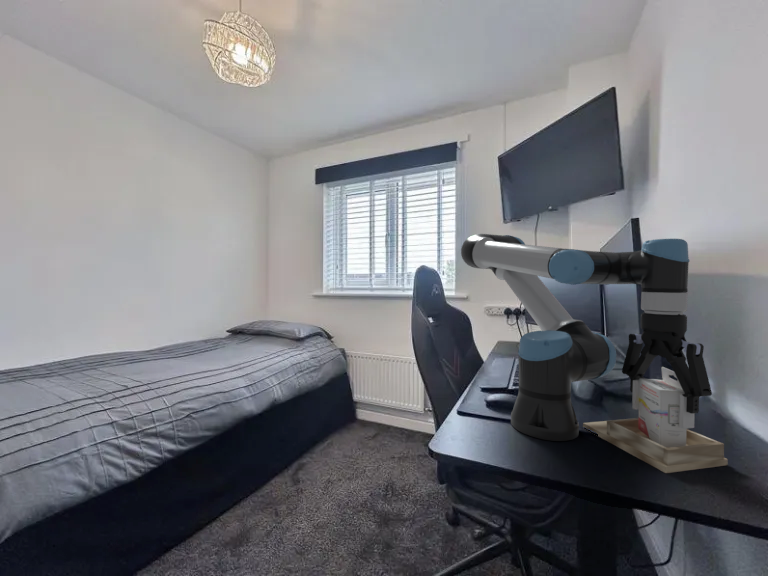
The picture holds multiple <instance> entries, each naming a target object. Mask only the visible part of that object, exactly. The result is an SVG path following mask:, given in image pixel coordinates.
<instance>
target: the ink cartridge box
mask: <svg viewBox="0 0 768 576" xmlns="http://www.w3.org/2000/svg"><path fill="white" fill-rule="evenodd" d="M660 370H661V376H662V377H661V378H662V379H654V378H642V379H639V409H638V417H637V418H638V429H639V430H640V431H642V432H643V433H644V434H645V435H647V436H648V437H649V438H650V439H651V440H653V441H654V442H656V443H658V444H660V445H662V446H664V447H679V446H686V429H682V428H680V427H679V415H680V395H682V394H685V393H684V391H683V389H682V387H681V385H680V383H679V381H678V379H677V376H676V374H675V372H674V370H673V369H672V370H671V369H669V368H667V367H664V366H661V369H660ZM670 376H673V377H674V378H676V379H677V380H676V379H674V378H671V377H670Z"/></svg>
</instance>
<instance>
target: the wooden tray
mask: <svg viewBox="0 0 768 576" xmlns="http://www.w3.org/2000/svg"><path fill="white" fill-rule="evenodd" d="M583 427H585V428H587V429H590V430H592V431H594V432H596V433H597V434H598V436H597V437H598V438H601V439H602V440H604V441H607V442H608V443H610V444H612V445H614V446H616V447H617V448H619V449H621V450H623V451H624V452H626V453H628V454H630V455H632V456H633V457H636V459H639V460H641V461H643V462H645V463H647V464H648V465H650V466H651V467H653V468H655V469H657V470H659V471H661V472H663V473H664V474H671V473H677V472H678V473H679V472H685V471H694V470H699V469H700V470H702V469H708V468H710V469H711V468H715V467H717V468H718V467H723V466H728V463H729V461H728V458H726V457H725V443H723V442H720V441H717V440H715V439H713V438H710V437H708V436H705V435H703V434H701V433H698V432H696V431H693V430H690V429H689V428H688V429H686V446H679V447H664V446H662V445H660V444H658V443H656V442H654V441H653V440H651V439H650V438H649V437H648V436H647V435H645V434H644V433H643V432H642V431H640V430H639V429H638V417H637V418H634V417H633V418H626V419H625V418H623V419H612V420H604V421H603V420H602V421H601V420H600V421H590V422H583V423H582V428H583Z"/></svg>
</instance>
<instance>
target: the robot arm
mask: <svg viewBox="0 0 768 576" xmlns="http://www.w3.org/2000/svg"><path fill="white" fill-rule="evenodd" d="M460 254H461V258H462V260H463V262H464V263H465V264H466V265H467V266H468V267H470V268H475V269H483V270H484V269H485V270H490V271H492V272H493V274H494V275H495V276H496V278H497V279H499V280H502V281H505V282H506V284H507V286H509V288H510V290H512V292H513V293H514V294H515V296H516V297H517V299H518V300H519V301H520V303H521V304H522V306H523V307H524V308H525V310H526V311H527V312H528V314H529V316H530V317H531V318H532V319H533V320H534V322H535V323H536V325H537V326H538V327H539V328H540V330H536V331H535V330H534V331H531V332H527V333H524V334H523V335H522V336H521V337H520V339H519V347H518V351H517V353H518V394H517V397H516V399H515V401H514V404H513V409H512V410H511V413H510V424H511V425H512V427H513V428H514V429H515V430H517V431H518V432H520V433H522V434H525V435H526V436H529V437H532V438H536V439H539V440H545V441H554V442H566V441H567V442H568V441H572V440H574V439H576V438H578V437H579V434H580V433H579V432H580V426H579V421H578V419H577V415H576V412H575V408H574V406H573V403H572V383H575V382H581V381H589V380H596V379H599V378H602V377H605V376H607V375H608V374H610V373H611V372H612V371H613V370H614V368H615V366H616V364H617V362H616V361H617V352H616V348H615V345H614V344H613V342H612V341H611V340H610V338H609V337H607V336H606V335H604V334H601V333H598V332H594V331H592V330H591V329H590V327H588V325H587V324H586V323H585V321H583V320H581V319H574V318H573V317H572V316H571V315H570V313H569V312H568V311H567V310H566V308H565V307H564V305H562V304H561V303H560V301H559V300H558V299H557V298H556V296H554V294H553V293H552V292H551V290H550V289H549V288H548V287H547V286H546V284H544V282H543V281H542V280H541V278H540V277H542V278H547V279H552V280H554V281H556V282H558V283H560V284H566V285H572V286H573V285H589V284H590V285H605V286H606V285H641V286H640V287H641V296H640V299H641V301H640V309H641V310H642V311H644V312H642V313H641V314H640V328H641V329H642V330H643V331H642V333H629V334H628V346H627V351H626V353H625V358H624V361H623V365H622V367H621V368H622V369H621V373H622V374H623V375H626V376H628V378H629V379H630V380H629V381H630V387H629V390H630V393H632V397H631V398H632V401H631V404H632V407H631V409H632V410H639V379H646V377H644V376H645V374H646V372H647V371H648V369H649V368H650V366H651V364H652V362H653V361H654V359H656V357H658V356H659V357H662V358H663V359H664V358H665V360H666V362H668V363H669V364H670V366H671V368H672V371H674V372H675V374H676V376H677V378H676V379H678V381H679V383H680V385H681V387H682V389H683V391H684V393H685V394H682V395H680V415H679V427H680V428H682V429H688V430H689V429H694V428H695V414H698V413H699V411H700V409H699V407H700V398H701V397H710V396H712V395H713V392H712V388H711V384H710V380H709V377H708V376H709V375H708V372H707V367H706V364H705V360H704V356H703V354H704V345H703V344H702V343H699V342H698V343H694V342H690V341H687V339H686V336H685V334H686V333H687V331H688V315H686V314H684V313H685V312H687V311H688V293H689V292H688V291H689V290H688V282H689V262H690V259H689V244H688V242H687V241H686V240H685V239H682V238H659V239H658V238H656V239H651V240H646V241H644V242H643V243H642V246H641V250H637V251H636V250H635V251H621V252H619V251H618V252H612V251H611V252H610V251H609V252H608V251H597V250H596V251H595V250H582V249H573V248H572V249H571V248H561V247H554V246H553V247H551V246H543V245H533V244H526V243H525V242H524V241H523V239H521V238H519V237H517V236H513V235H508V234H507V235H499V234H490V233H488V234H487V233H475V234H473V235H471V236H468V238H466V239H465V240H464V242H463V244H462V246H461V249H460ZM643 344H644V346H643ZM684 353H685V354H684Z"/></svg>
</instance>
